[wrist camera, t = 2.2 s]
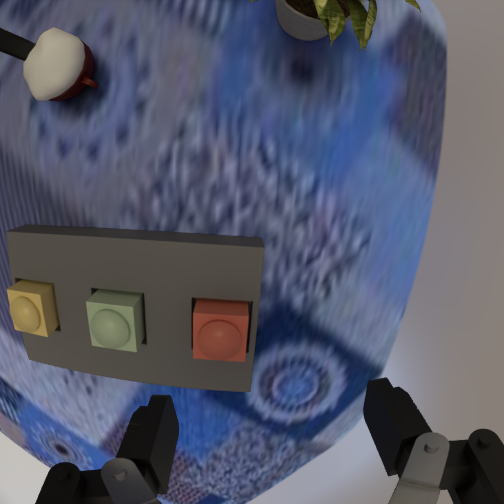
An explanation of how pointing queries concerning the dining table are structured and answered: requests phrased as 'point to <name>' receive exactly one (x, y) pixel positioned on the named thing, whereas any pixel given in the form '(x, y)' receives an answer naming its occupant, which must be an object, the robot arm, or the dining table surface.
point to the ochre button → (33, 307)
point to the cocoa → (52, 63)
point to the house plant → (327, 18)
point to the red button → (220, 329)
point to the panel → (154, 298)
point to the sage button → (116, 319)
